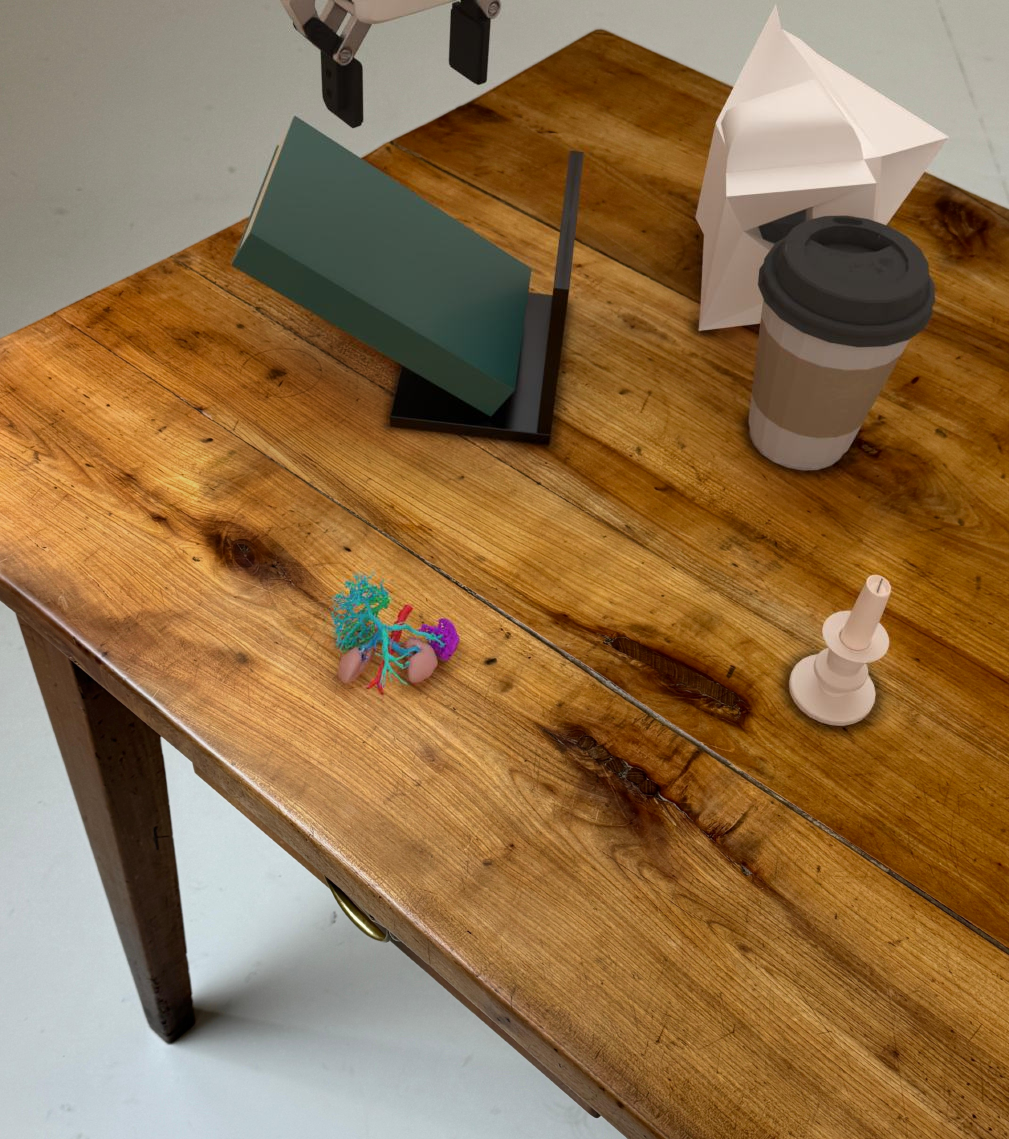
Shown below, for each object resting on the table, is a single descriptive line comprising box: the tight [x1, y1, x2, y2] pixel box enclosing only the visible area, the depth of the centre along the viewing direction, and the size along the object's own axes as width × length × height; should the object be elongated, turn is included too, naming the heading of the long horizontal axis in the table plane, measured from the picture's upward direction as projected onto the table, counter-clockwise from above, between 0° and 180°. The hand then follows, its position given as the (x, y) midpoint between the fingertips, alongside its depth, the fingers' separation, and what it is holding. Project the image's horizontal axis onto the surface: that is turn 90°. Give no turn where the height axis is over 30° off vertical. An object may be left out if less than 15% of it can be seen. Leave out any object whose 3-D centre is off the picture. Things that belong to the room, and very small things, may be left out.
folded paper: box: [694, 4, 950, 332], centre depth 99 cm, size 17×24×17 cm
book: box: [230, 115, 533, 417], centre depth 89 cm, size 20×14×3 cm
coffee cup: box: [747, 215, 936, 471], centre depth 86 cm, size 11×11×15 cm
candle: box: [788, 574, 892, 727], centre depth 74 cm, size 5×5×10 cm
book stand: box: [389, 150, 585, 446], centre depth 90 cm, size 11×16×13 cm
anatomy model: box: [331, 571, 460, 696], centre depth 75 cm, size 5×8×7 cm
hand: (407, 95), depth 81 cm, fingers open, 9 cm apart
